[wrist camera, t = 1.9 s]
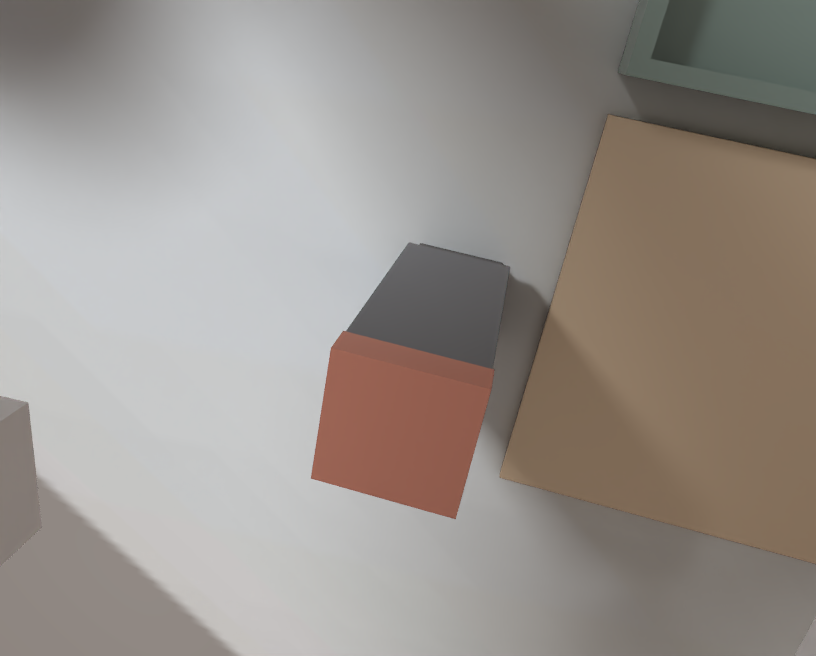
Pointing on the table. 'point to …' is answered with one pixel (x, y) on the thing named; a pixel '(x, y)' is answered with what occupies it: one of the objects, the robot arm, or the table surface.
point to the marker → (413, 381)
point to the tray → (728, 48)
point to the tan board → (683, 342)
